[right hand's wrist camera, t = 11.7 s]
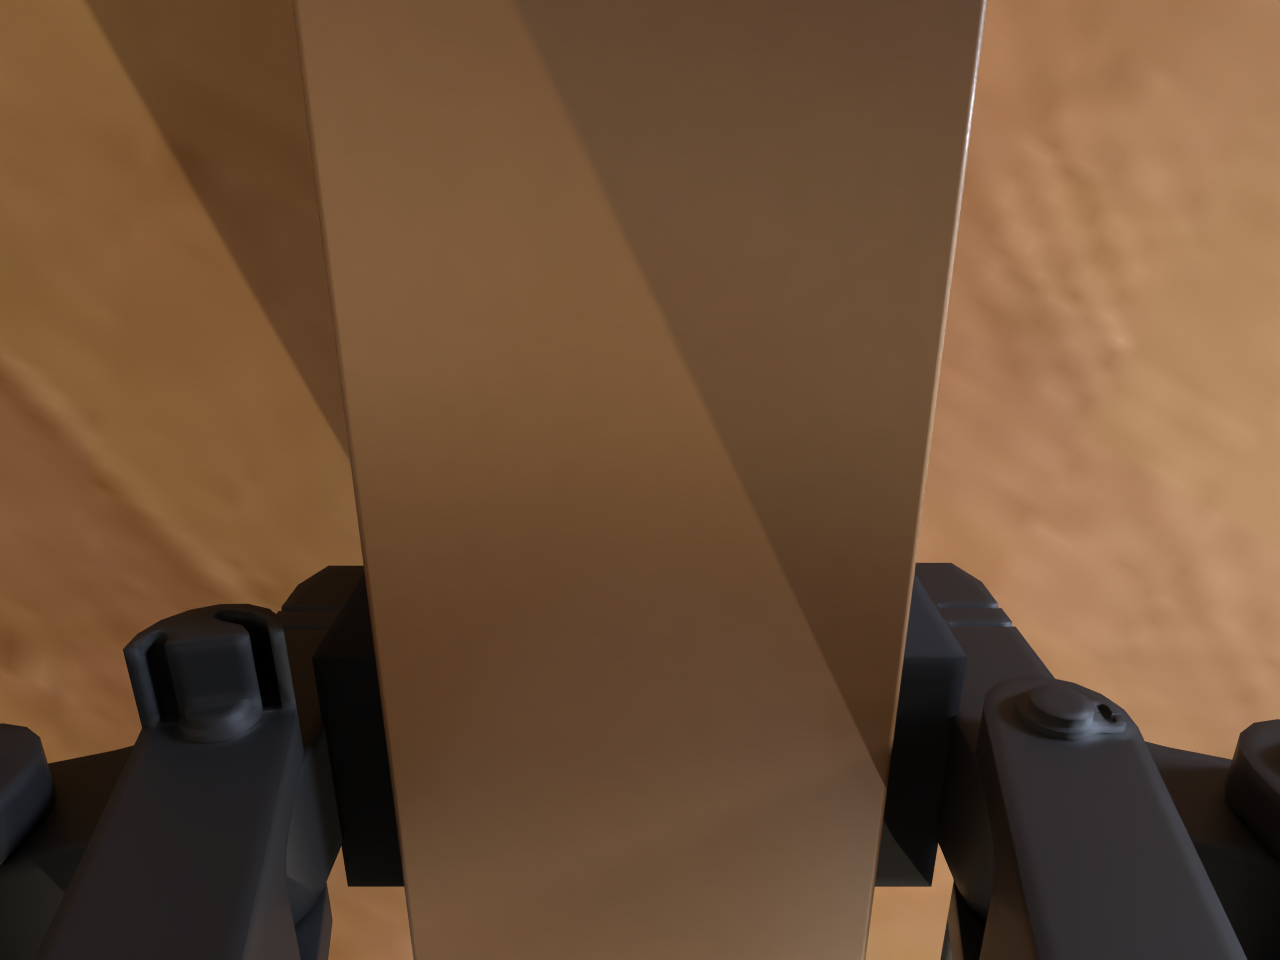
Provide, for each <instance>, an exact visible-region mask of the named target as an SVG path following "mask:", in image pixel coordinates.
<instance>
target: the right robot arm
mask: <svg viewBox="0 0 1280 960" xmlns="http://www.w3.org/2000/svg"><path fill="white" fill-rule="evenodd" d="M123 652H124V656H125V660H126V664H127V668H128V672H129V676H130V680H131V684H132V688H133V692H134V696H135V700H136V705H137V709H138V713H139V717H140V721H141V725H142V730H141V732H140V734H139V736H138V738H137V740H136V743H135V745H134V746H130V747H126V748H122V749H119V750H115V751H110V752H105V753H100V754H95V755H90V756H85V757H80V758H74V759H69V760H64V761H59V762H54V763H49V764H48V763H47V759H46V756H45V753H44V749H43V746H42V743H41V739H40V737H39V736H37V735H36V734H35V733H34V732H32V731H31V730H30V729H28V728H27V727H22V726H16V725H10V724H3V723H2V724H0V960H328V955H329V946H330V937H331V928H332V914H331V907H330V901H329V895H328V889H327V883H326V881H327V879H328V876H329V874H330V872H331V869H332V867H333V865H334V862H335V860H336V857H337V855H338V853H339V850H340V848H341V845H342V852H343V858H344V864H345V871H346V877H347V883H348V886H404V879H403V871H402V863H401V856H400V848H399V840H398V832H397V824H396V816H395V808H394V800H393V793H392V785H391V777H390V769H389V761H388V753H387V745H386V737H385V730H384V722H383V714H382V706H381V698H380V690H379V682H378V674H377V666H376V659H375V651H374V643H373V635H372V627H371V619H370V611H369V603H368V596H367V588H366V580H365V572H364V566H327V567H326V568H324V569H323V570H321V571H319V572H318V573H316V574H315V575H313V576H311V577H310V578H308V579H307V580H305V581H303V582H302V583H300V584H299V585H298V586H297V587H296V588H295V590H294V591H293V592H292V594H291V595H290V596H289V598H288V599H287V600H286V602H285V603H284V604H283V606H282V610H281V611H278V612H277V614H275V613H274V612H273V611H271V610H270V609H268V608H263V607H259V606H255V605H250V604H219V605H214V606H208V607H203V608H197V609H192V610H188V611H185V612H183V613H180V614H177V615H174V616H171V617H169V618H166V619H163V620H161V621H159V622H157V623H155V624H154V625H152V626H150V627H149V628H147V629H145V630H143V631H142V632H140V633H138V634H137V635H136V636H135V637H134V638H133V639H132V640H131V641H130V642H129V643H128V645H127V646H126V647H125V648H124V649H123ZM938 843H939V845H940V847H941V850H942V852H943V855H944V857H945V859H946V862H947V864H948V867H949V869H950V871H951V874H952V876H953V878H954V883H953V889H952V895H951V901H950V907H949V913H948V918H947V924H946V930H945V936H944V942H943V948H942V954H941V960H1280V720H1279V719H1276V720H1270V721H1263V722H1257V723H1253V724H1252V725H1250V726H1249V727H1248V728H1247V729H1245V730H1244V731H1243V732H1241V733H1240V736H1239V740H1238V743H1237V746H1236V750H1235V753H1234V756H1233V760H1230V759H1225V758H1220V757H1215V756H1210V755H1205V754H1200V753H1195V752H1190V751H1185V750H1179V749H1174V748H1169V747H1165V746H1161V745H1157V744H1153V743H1149V742H1145V741H1144V739H1143V737H1142V735H1141V733H1140V730H1139V728H1138V727H1137V725H1136V724H1135V723H1134V721H1133V720H1132V719H1131V718H1130V716H1129V715H1128V714H1127V713H1126V711H1125V710H1124V709H1122V708H1121V707H1119V706H1118V705H1117V704H1115V703H1114V702H1112V701H1111V700H1109V699H1108V698H1106V697H1105V696H1103V695H1102V694H1100V693H1097V692H1095V691H1092V690H1090V689H1087V688H1085V687H1083V686H1080V685H1078V684H1075V683H1072V682H1067V681H1062V680H1058V679H1055V678H1054V677H1053V675H1052V674H1051V673H1050V672H1049V670H1048V669H1047V668H1046V666H1045V665H1044V664H1043V662H1042V661H1041V660H1040V658H1039V657H1038V656H1037V654H1036V653H1035V652H1034V650H1033V649H1032V648H1031V646H1030V645H1029V644H1028V643H1027V641H1026V640H1025V639H1024V637H1023V636H1022V635H1021V633H1020V632H1019V631H1018V629H1017V628H1016V627H1012V621H1011V620H1010V619H1009V617H1008V616H1007V615H1006V614H1005V612H1004V611H1003V610H1002V608H998V603H997V602H996V600H995V599H994V598H993V596H992V595H991V594H990V592H989V591H988V590H987V588H986V587H985V586H984V585H983V583H982V582H981V581H979V580H978V579H976V578H975V577H973V576H971V575H970V574H968V573H966V572H965V571H963V570H962V569H960V568H958V567H957V566H955V565H954V564H952V563H916V565H915V573H914V581H913V589H912V596H911V604H910V612H909V620H908V628H907V636H906V644H905V652H904V659H903V667H902V675H901V683H900V691H899V699H898V707H897V715H896V722H895V730H894V738H893V746H892V754H891V762H890V770H889V778H888V785H887V793H886V801H885V809H884V817H883V825H882V833H881V841H880V848H879V856H878V864H877V872H876V880H875V886H931V885H932V879H933V872H934V866H935V860H936V853H937V847H938Z"/></svg>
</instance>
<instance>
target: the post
mask: <svg viewBox="0 0 1280 960" xmlns="http://www.w3.org/2000/svg"><path fill="white" fill-rule="evenodd" d="M292 5H293V12H294V20H295V28H296V36H297V44H298V52H299V60H300V68H301V76H302V83H303V91H304V99H305V107H306V115H307V123H308V131H309V139H310V146H311V154H312V162H313V170H314V178H315V186H316V194H317V202H318V209H319V217H320V225H321V233H322V241H323V249H324V257H325V265H326V272H327V280H328V288H329V296H330V304H331V312H332V320H333V328H334V336H335V343H336V351H337V359H338V367H339V375H340V383H341V391H342V399H343V406H344V414H345V422H346V430H347V438H348V446H349V454H350V462H351V469H352V477H353V485H354V493H355V501H356V509H357V517H358V525H359V533H360V540H361V548H362V556H363V564H364V572H365V580H366V588H367V596H368V603H369V611H370V619H371V627H372V635H373V643H374V651H375V659H376V666H377V674H378V682H379V690H380V698H381V706H382V714H383V722H384V730H385V737H386V745H387V753H388V761H389V769H390V777H391V785H392V793H393V800H394V808H395V816H396V824H397V832H398V840H399V848H400V856H401V863H402V871H403V879H404V887H405V895H406V903H407V911H408V919H409V926H410V934H411V942H412V950H413V958H414V960H865V959H866V951H867V943H868V935H869V927H870V919H871V911H872V904H873V896H874V888H875V880H876V872H877V864H878V856H879V848H880V841H881V833H882V825H883V817H884V809H885V801H886V793H887V785H888V778H889V770H890V762H891V754H892V746H893V738H894V730H895V722H896V715H897V707H898V699H899V691H900V683H901V675H902V667H903V659H904V652H905V644H906V636H907V628H908V620H909V612H910V604H911V596H912V589H913V581H914V573H915V565H916V557H917V549H918V541H919V533H920V526H921V518H922V510H923V502H924V494H925V486H926V478H927V470H928V463H929V455H930V447H931V439H932V431H933V423H934V415H935V407H936V400H937V392H938V384H939V376H940V368H941V360H942V352H943V345H944V337H945V329H946V321H947V313H948V305H949V297H950V289H951V282H952V274H953V266H954V258H955V250H956V242H957V234H958V226H959V219H960V211H961V203H962V195H963V187H964V179H965V171H966V163H967V156H968V148H969V140H970V132H971V124H972V116H973V108H974V100H975V93H976V85H977V77H978V69H979V61H980V53H981V45H982V37H983V30H984V22H985V14H986V6H987V0H292Z"/></svg>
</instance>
